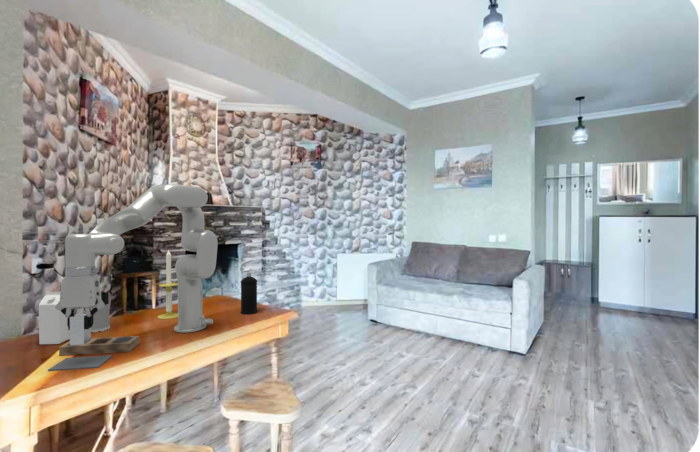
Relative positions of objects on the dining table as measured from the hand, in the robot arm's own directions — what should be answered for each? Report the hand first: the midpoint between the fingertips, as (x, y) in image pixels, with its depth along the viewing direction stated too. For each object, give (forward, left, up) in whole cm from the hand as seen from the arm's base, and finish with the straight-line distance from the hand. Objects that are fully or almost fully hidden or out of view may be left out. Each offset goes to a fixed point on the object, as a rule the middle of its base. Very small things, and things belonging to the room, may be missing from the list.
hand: (80, 327), depth 113 cm
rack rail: (0, -12, -12) cm, 17 cm away
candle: (-10, -53, -12) cm, 55 cm away
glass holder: (+13, -40, -12) cm, 44 cm away
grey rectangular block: (0, 0, -5) cm, 5 cm away
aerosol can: (-47, -54, -12) cm, 73 cm away
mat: (0, 0, -12) cm, 12 cm away
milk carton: (+21, -24, -12) cm, 34 cm away
